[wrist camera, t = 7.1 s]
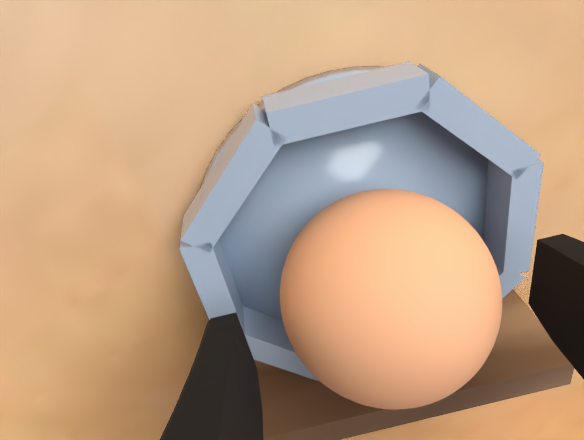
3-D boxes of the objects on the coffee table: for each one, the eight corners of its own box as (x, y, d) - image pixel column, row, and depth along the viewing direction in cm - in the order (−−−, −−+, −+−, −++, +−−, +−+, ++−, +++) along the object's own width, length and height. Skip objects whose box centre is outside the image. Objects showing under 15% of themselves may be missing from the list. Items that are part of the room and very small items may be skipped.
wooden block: (509, 306, 17) (569, 383, 14) (227, 374, 17) (227, 466, 14) (511, 287, 16) (575, 363, 13) (219, 357, 16) (219, 449, 13)
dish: (489, 295, 16) (520, 336, 15) (242, 355, 16) (244, 403, 15) (509, 27, 11) (559, 43, 9) (147, 113, 11) (134, 143, 9)
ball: (441, 280, 14) (540, 423, 10) (288, 319, 14) (321, 482, 10) (439, 134, 12) (576, 245, 7) (249, 181, 12) (272, 323, 7)
